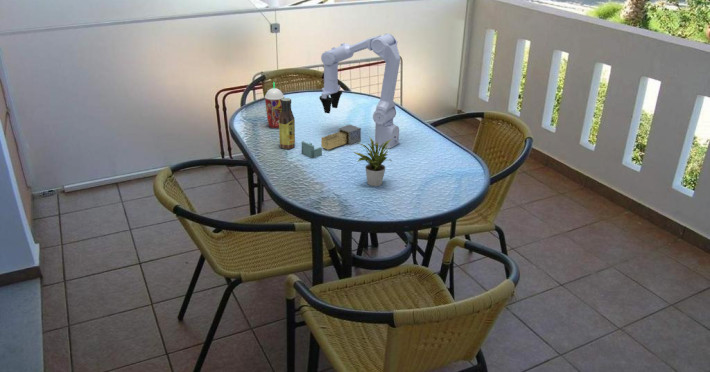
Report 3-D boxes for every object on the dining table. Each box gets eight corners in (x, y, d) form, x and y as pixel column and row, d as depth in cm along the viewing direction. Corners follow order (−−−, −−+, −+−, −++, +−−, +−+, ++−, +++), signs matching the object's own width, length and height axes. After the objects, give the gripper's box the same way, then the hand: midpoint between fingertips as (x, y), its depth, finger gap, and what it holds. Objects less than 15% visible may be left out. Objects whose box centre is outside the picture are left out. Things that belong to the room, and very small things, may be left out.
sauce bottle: (292, 150, 239) (291, 102, 230) (277, 148, 240) (275, 101, 231) (297, 144, 244) (296, 97, 236) (282, 143, 245) (280, 96, 237)
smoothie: (283, 129, 260) (282, 85, 251) (264, 129, 260) (262, 84, 251) (286, 123, 267) (284, 79, 258) (267, 122, 267) (265, 79, 259)
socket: (310, 150, 239) (310, 138, 237) (321, 155, 235) (321, 143, 232) (301, 153, 236) (301, 141, 234) (312, 158, 232) (312, 146, 229)
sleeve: (349, 137, 253) (350, 124, 250) (360, 141, 248) (360, 128, 246) (338, 141, 248) (338, 128, 246) (349, 145, 244) (349, 132, 242)
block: (349, 137, 251) (349, 128, 249) (356, 139, 248) (356, 130, 246) (321, 146, 240) (321, 137, 239) (328, 149, 238) (328, 140, 236)
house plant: (372, 170, 222) (374, 129, 215) (403, 180, 214) (405, 138, 207) (348, 182, 212) (348, 139, 205) (379, 193, 204) (380, 149, 197)
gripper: (329, 73, 255) (329, 104, 261) (314, 82, 243) (315, 114, 249) (344, 75, 253) (344, 106, 259) (330, 84, 241) (330, 116, 247)
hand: (331, 110), depth 254 cm, fingers open, 7 cm apart
